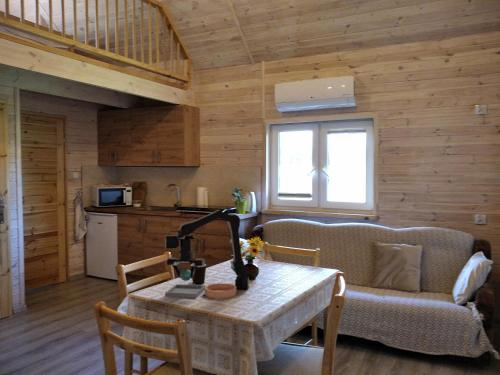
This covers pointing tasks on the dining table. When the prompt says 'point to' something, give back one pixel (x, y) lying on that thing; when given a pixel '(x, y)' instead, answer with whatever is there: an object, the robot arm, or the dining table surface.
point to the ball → (185, 274)
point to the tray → (185, 291)
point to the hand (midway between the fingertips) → (185, 278)
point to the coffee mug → (199, 275)
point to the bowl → (220, 290)
